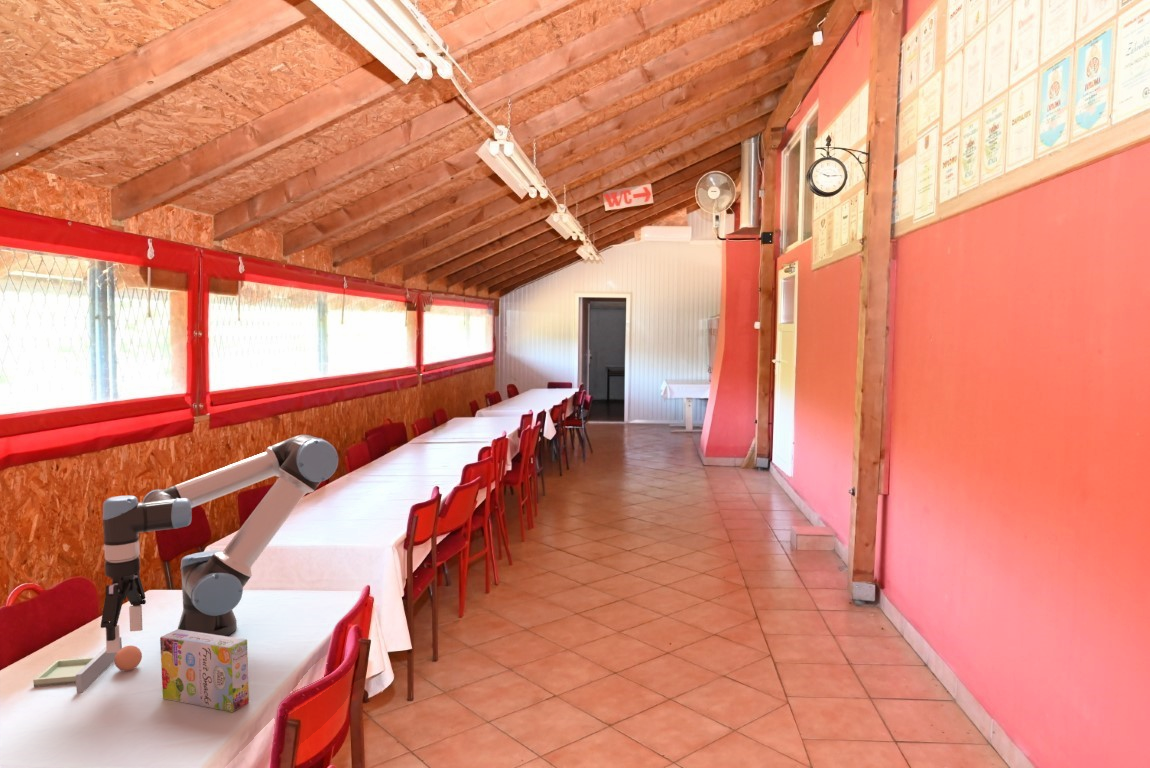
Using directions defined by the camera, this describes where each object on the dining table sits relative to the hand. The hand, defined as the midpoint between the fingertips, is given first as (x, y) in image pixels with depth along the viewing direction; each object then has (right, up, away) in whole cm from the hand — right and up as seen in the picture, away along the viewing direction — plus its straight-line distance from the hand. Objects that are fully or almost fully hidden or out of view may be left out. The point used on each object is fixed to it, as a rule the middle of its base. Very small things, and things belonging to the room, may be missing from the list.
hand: (125, 641), depth 186 cm
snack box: (+28, -9, -16) cm, 33 cm away
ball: (0, -5, +1) cm, 5 cm away
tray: (-13, -8, -2) cm, 15 cm away
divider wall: (-6, -8, 0) cm, 10 cm away
